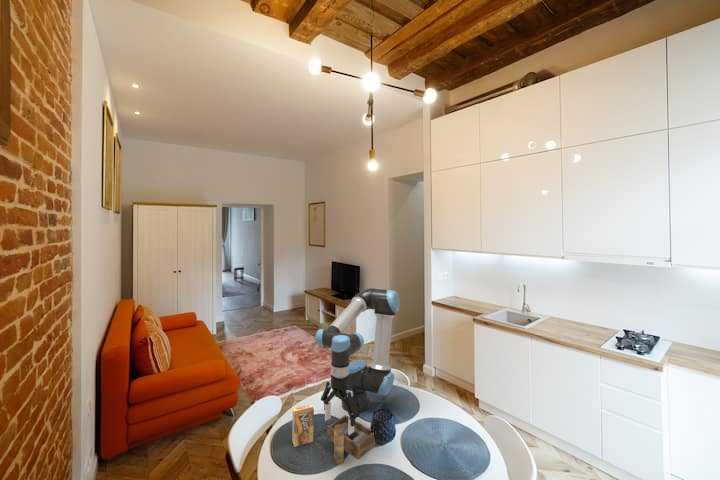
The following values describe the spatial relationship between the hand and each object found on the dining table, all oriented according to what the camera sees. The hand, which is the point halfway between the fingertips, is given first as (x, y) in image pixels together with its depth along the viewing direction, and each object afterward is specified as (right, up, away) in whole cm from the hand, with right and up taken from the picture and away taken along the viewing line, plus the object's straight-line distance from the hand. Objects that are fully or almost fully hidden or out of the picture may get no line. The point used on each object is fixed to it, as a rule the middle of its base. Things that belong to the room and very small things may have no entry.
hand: (338, 425), depth 123 cm
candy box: (-17, -15, +11) cm, 25 cm away
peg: (0, -15, 0) cm, 15 cm away
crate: (+5, -15, +12) cm, 20 cm away
